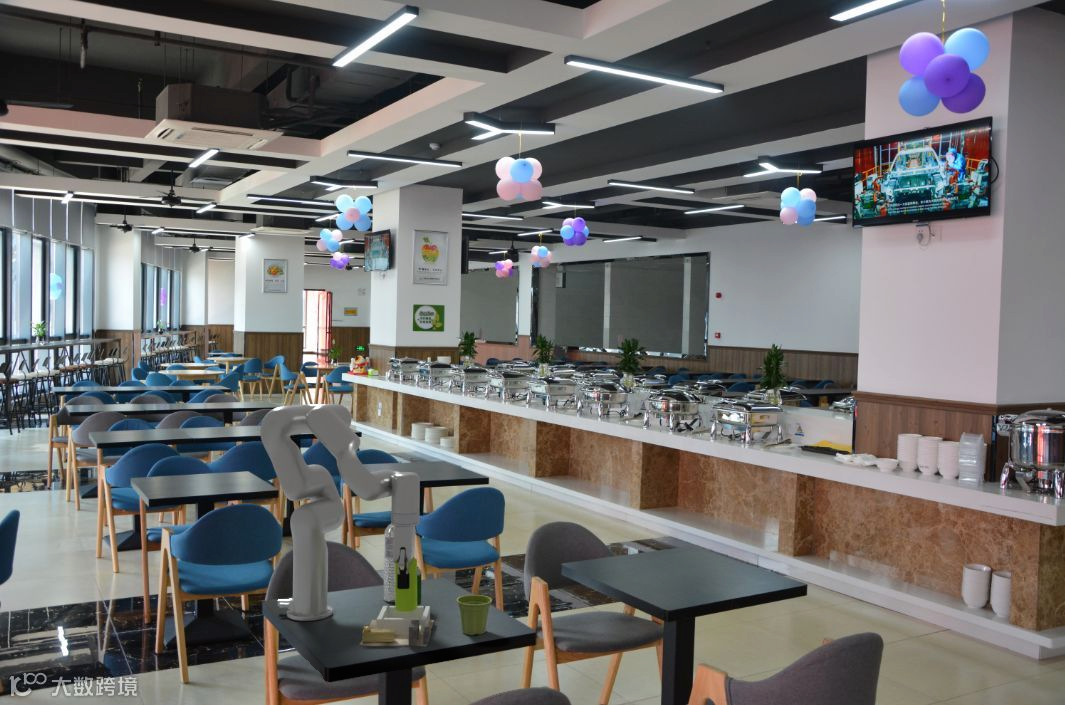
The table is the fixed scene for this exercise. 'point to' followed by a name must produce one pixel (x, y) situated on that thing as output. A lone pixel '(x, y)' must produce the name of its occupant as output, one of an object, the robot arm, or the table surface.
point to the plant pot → (474, 613)
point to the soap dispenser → (407, 590)
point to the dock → (402, 619)
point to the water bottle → (389, 565)
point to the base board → (405, 636)
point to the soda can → (419, 586)
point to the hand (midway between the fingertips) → (404, 584)
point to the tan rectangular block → (378, 635)
